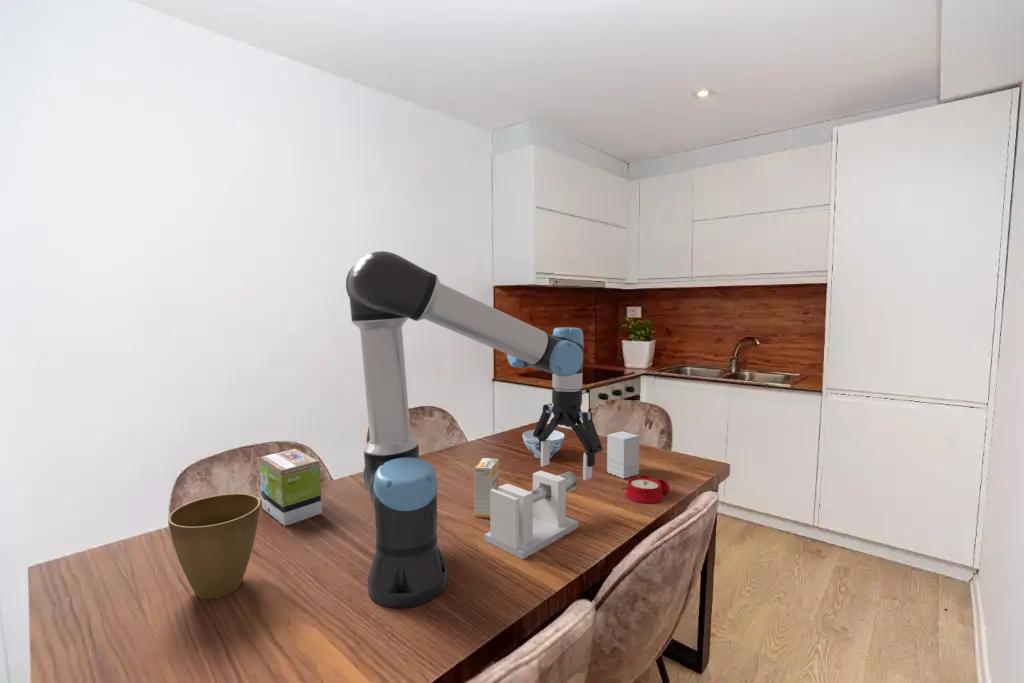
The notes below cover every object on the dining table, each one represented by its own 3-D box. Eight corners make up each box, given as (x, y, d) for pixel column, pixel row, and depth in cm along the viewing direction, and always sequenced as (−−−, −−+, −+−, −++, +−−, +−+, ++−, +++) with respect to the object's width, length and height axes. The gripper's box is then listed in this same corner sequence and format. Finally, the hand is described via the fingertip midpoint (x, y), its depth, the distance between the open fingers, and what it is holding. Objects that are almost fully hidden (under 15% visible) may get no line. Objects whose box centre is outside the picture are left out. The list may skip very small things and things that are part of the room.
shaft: (563, 486, 125) (563, 469, 125) (577, 491, 122) (577, 474, 121) (500, 515, 109) (500, 495, 108) (514, 521, 105) (514, 501, 105)
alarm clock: (616, 485, 134) (642, 461, 144) (618, 505, 136) (644, 479, 146) (650, 496, 127) (675, 469, 137) (652, 516, 128) (677, 489, 139)
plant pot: (163, 622, 83) (158, 532, 81) (183, 577, 96) (178, 500, 95) (260, 600, 89) (256, 517, 87) (266, 561, 102) (262, 488, 101)
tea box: (260, 509, 128) (258, 455, 126) (298, 498, 135) (296, 447, 134) (283, 527, 117) (281, 469, 116) (323, 514, 125) (321, 459, 124)
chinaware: (566, 462, 164) (566, 440, 163) (522, 462, 164) (522, 440, 163) (562, 449, 179) (562, 429, 178) (522, 449, 179) (522, 429, 178)
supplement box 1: (492, 518, 122) (491, 468, 121) (474, 517, 123) (473, 467, 122) (499, 505, 130) (499, 458, 129) (482, 504, 131) (482, 457, 130)
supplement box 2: (639, 474, 152) (640, 435, 151) (623, 479, 148) (624, 439, 147) (622, 467, 159) (622, 430, 158) (606, 472, 154) (606, 434, 153)
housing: (541, 512, 125) (541, 466, 124) (578, 527, 117) (578, 477, 116) (484, 540, 111) (484, 487, 110) (522, 559, 102) (522, 502, 101)
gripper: (618, 393, 114) (615, 480, 116) (539, 381, 132) (538, 457, 133) (600, 397, 109) (598, 488, 110) (520, 384, 126) (519, 463, 128)
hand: (565, 471), depth 122 cm, fingers open, 13 cm apart
